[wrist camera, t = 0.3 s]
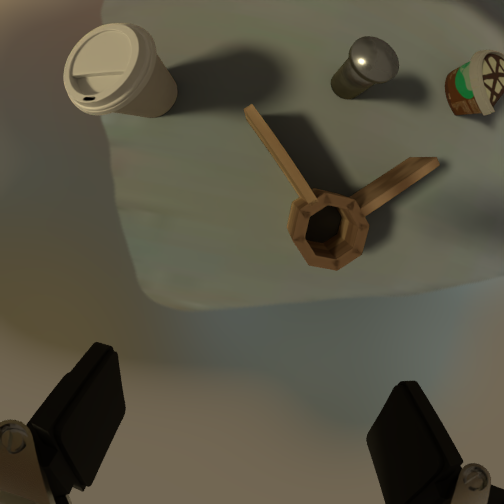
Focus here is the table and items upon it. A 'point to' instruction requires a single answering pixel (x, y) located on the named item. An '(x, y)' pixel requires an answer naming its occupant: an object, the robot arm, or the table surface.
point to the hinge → (336, 201)
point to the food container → (476, 84)
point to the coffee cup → (119, 73)
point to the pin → (365, 67)
